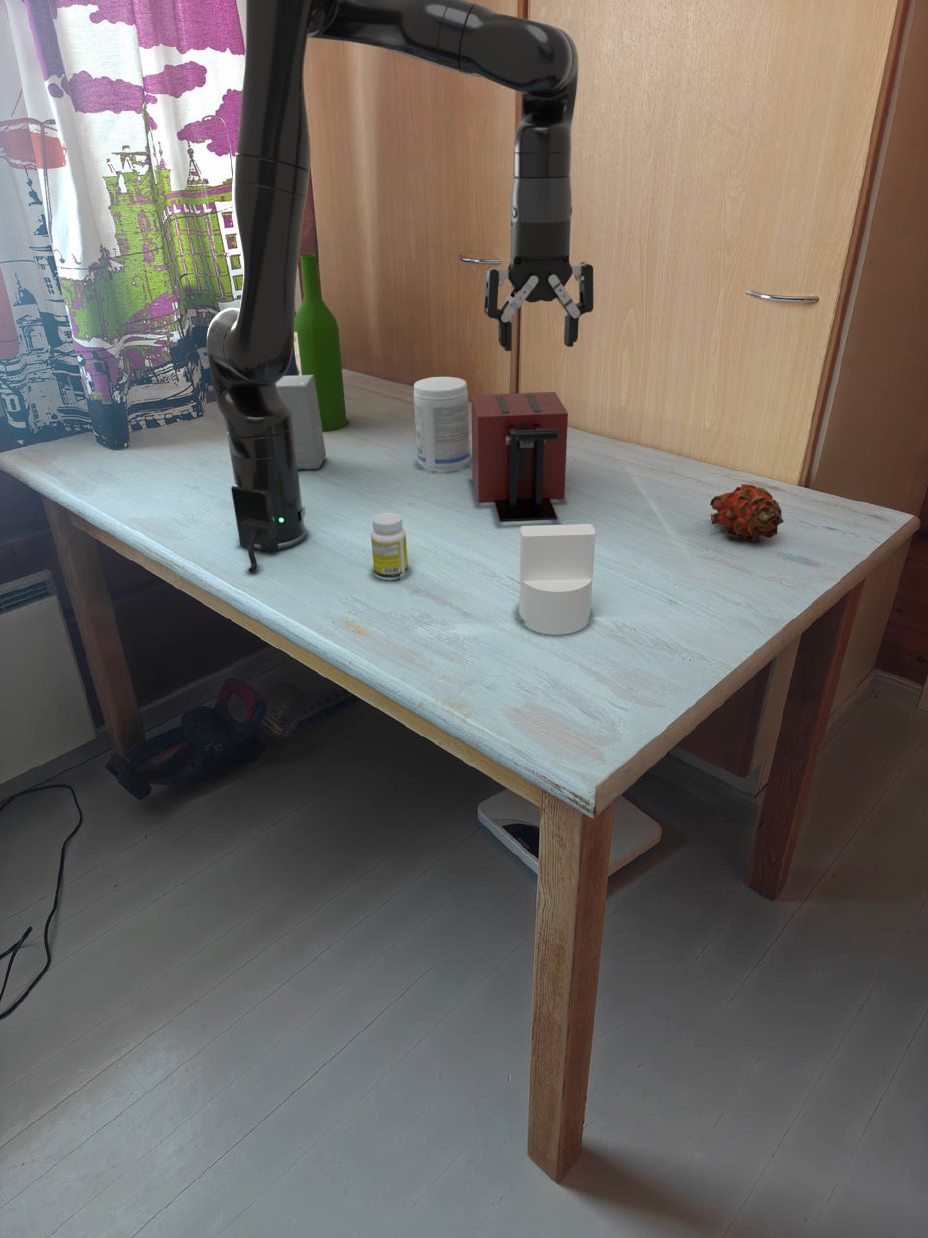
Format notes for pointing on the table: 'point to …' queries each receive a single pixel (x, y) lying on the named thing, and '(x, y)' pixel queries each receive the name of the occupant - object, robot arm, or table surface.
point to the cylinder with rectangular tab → (556, 577)
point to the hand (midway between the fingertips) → (537, 347)
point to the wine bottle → (319, 348)
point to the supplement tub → (442, 422)
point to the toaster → (492, 451)
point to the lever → (534, 437)
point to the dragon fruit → (747, 512)
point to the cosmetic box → (304, 419)
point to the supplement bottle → (389, 546)
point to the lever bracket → (536, 505)
